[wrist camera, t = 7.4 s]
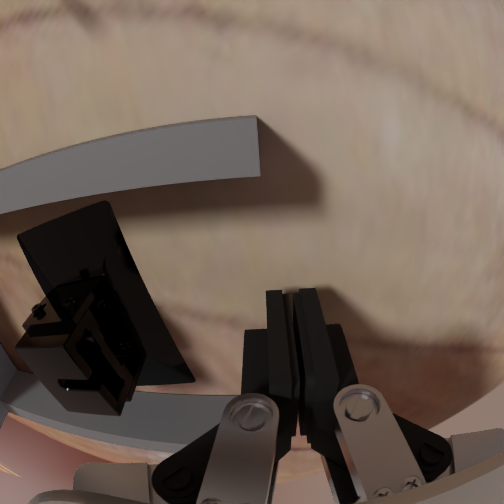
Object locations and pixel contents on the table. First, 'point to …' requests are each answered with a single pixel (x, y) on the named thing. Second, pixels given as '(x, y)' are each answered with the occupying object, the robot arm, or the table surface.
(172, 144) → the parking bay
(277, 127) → the table surface
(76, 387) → the black bracket part
